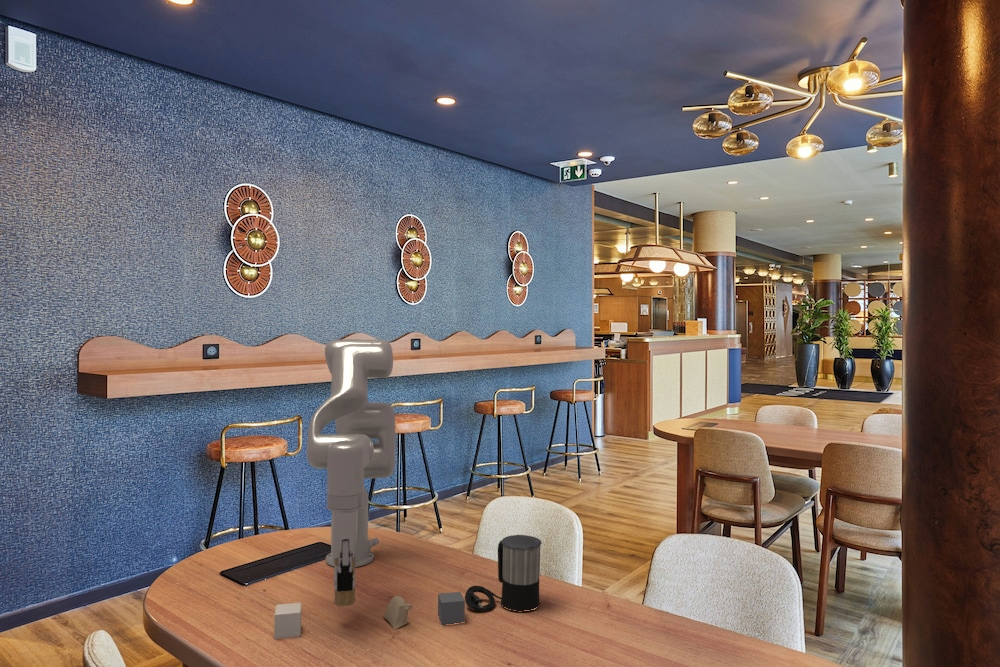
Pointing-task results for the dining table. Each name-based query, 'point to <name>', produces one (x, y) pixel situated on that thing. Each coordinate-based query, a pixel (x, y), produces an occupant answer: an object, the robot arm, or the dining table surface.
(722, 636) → the dining table surface
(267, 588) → the dining table surface
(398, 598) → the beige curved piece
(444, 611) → the charcoal block
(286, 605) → the off-white block
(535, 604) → the milk frother
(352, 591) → the sprinkles bottle
